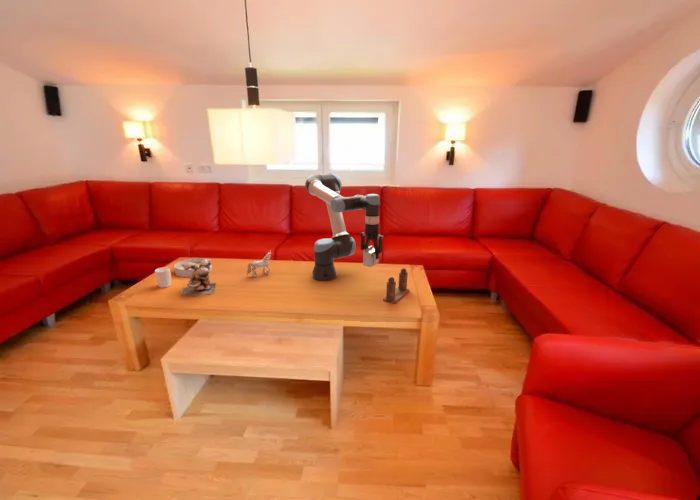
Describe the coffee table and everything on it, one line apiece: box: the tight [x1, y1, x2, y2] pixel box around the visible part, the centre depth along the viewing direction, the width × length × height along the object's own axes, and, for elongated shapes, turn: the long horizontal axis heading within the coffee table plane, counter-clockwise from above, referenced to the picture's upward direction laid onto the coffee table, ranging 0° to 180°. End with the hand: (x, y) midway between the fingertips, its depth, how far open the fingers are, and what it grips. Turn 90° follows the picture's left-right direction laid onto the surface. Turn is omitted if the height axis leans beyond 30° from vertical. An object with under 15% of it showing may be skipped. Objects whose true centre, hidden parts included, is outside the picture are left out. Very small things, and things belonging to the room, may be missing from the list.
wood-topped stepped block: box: [362, 245, 380, 268], centre depth 201 cm, size 5×9×9 cm, turn 148°
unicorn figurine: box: [246, 249, 273, 278], centre depth 225 cm, size 7×20×13 cm, turn 138°
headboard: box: [382, 267, 410, 304], centre depth 197 cm, size 7×19×14 cm, turn 148°
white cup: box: [154, 266, 172, 289], centre depth 209 cm, size 8×8×10 cm
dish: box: [174, 257, 213, 278], centre depth 232 cm, size 22×22×5 cm
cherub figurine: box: [180, 258, 217, 298], centre depth 202 cm, size 18×18×18 cm
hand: (371, 263), depth 202 cm, fingers closed on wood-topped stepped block, 5 cm apart
